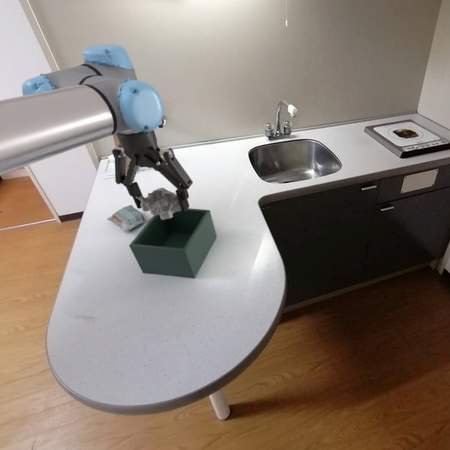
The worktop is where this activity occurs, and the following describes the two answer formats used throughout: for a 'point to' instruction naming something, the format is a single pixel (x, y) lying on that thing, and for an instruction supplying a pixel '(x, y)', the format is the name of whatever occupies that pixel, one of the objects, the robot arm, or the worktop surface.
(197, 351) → the worktop surface
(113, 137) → the brown tapered cone
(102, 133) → the robot arm
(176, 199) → the egg carton
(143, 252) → the trash bin
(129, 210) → the packaged food
